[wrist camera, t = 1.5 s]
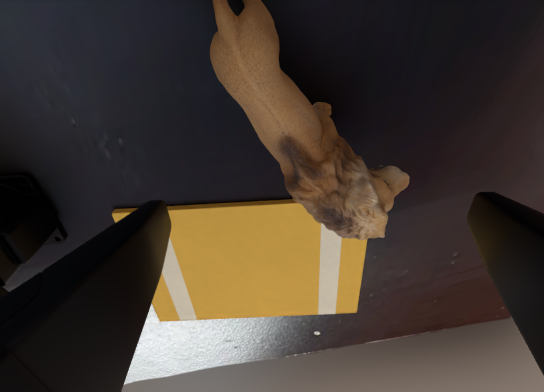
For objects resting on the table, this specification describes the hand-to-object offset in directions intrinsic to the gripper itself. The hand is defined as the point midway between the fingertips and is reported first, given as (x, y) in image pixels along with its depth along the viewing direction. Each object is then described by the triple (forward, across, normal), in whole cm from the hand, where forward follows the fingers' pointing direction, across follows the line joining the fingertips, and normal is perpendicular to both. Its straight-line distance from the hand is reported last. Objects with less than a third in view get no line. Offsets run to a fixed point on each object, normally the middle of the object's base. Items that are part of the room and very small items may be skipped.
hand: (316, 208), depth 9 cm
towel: (+12, +4, +16) cm, 20 cm away
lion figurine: (+13, 0, 0) cm, 13 cm away
